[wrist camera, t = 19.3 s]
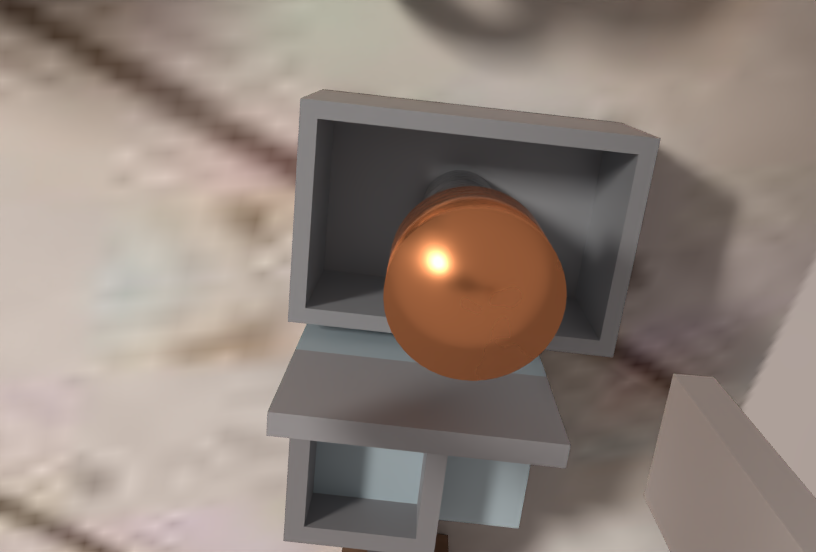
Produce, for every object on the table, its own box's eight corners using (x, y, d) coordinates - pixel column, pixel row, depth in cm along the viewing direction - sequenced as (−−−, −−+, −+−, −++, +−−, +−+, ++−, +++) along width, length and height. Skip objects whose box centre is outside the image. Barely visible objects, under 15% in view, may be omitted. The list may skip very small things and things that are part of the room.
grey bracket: (320, 292, 31) (267, 411, 21) (525, 315, 31) (570, 445, 21) (305, 504, 34) (253, 694, 24) (489, 524, 34) (513, 722, 24)
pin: (406, 141, 28) (392, 198, 18) (525, 154, 28) (581, 219, 18) (394, 255, 30) (375, 370, 19) (507, 267, 30) (549, 389, 19)
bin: (322, 89, 28) (300, 98, 23) (621, 122, 28) (660, 138, 23) (310, 278, 30) (287, 321, 26) (584, 308, 30) (612, 357, 26)
